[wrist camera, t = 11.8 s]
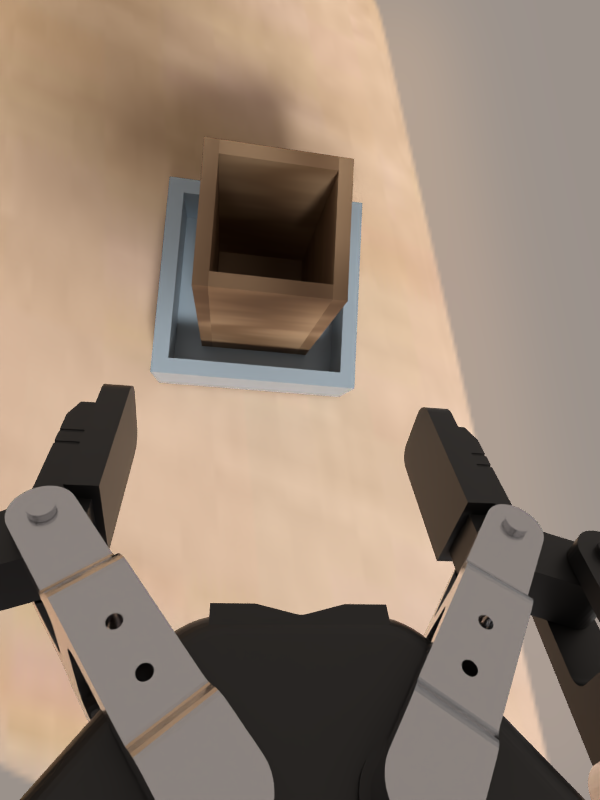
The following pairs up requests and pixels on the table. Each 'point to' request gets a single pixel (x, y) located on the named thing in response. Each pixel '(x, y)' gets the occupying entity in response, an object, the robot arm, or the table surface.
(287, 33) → the table surface
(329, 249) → the walnut crate
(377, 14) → the table surface
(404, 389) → the table surface
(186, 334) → the blue crate
